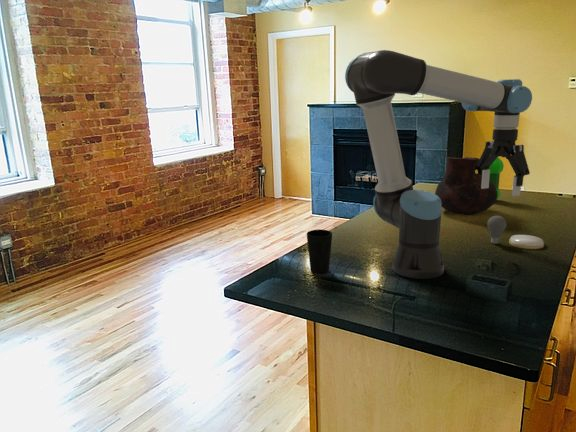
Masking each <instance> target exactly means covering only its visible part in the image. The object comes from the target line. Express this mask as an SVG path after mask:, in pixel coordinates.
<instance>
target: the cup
mask: <svg viewBox="0 0 576 432" xmlns="http://www.w3.org/2000/svg"><path fill="white" fill-rule="evenodd" d="M306 240H307V250H308V259H309V267H310V268H309V269H310V273H313V274H316V275H325V274H327V273H329V271H330V262H331V251H332V243H333V242H332V240H333V232H332V231H331V230H327V229H311V230H308V231H307V232H306Z"/></svg>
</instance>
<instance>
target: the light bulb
mask: <svg viewBox="0 0 576 432" xmlns="http://www.w3.org/2000/svg"><path fill="white" fill-rule="evenodd" d="M486 226H487V229H488V230H489V232H490V233H489V234H490V237H491V239H490V242H491V243H492V244H493V245H497V244H499V243H500V238H501V236H502V234H503V232H504V230H506V227H507V222H506V219H505V218H504V217H503V216H501V215H493V216H491V217H490V218H489V219H488V220H487V225H486Z"/></svg>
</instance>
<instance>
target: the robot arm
mask: <svg viewBox="0 0 576 432" xmlns="http://www.w3.org/2000/svg"><path fill="white" fill-rule="evenodd" d="M344 75H345V76H344V78H345V79H344V80H345V83H346V87H348V89H349V90H350V92H352V93H353V95H354V100H355V105H356V106H358V107H360V108H361V109H362V113H363V117H364V122H365V125H366V129H367V136H368V139H369V145H370V149H371V155H372V158H373V163H374V167H375V168H374V169H375V173H376V177H377V181H378V182H377V184H376V185H375V187H374V191H375V196H373V200H372V201H373V204H372V205H373V209H374V211H375V213H376V215H377V216H378V217H379V218H380V219H381V220H382V221H384V222H386V223H388V224H389V225H391V226H393V227H395V228H397V229H398V230H399V231H398V244H397V245H398V246H397V248H396V251H395V252H394V253H395V254H394V256H393V258H392V261H391V270H392V271H393V272H394V273H396V274H397V275H399V276H401V277H405V278H408V279H409V278H410V279H418V280H419V279H420V280H429V279H435V278H436V279H437V277H441V276H442V275H444V272H445V263H444V260H443V256H442V253H441V249H440V248H441V247H440V237H441V235H440V234H441V221H442V220H441V219H442V212H443V208H442V206H441V199H440V198H439V197H438V196H437V195H436V194H435V192H434V193H433V192H431V191H425V190H421V189H414V186H413V181H412V179H410V178H408V177H407V176H406V170H405V166H404V161H403V155H402V151H401V146H400V141H399V136H398V130H397V125H396V119H395V115H394V111H393V110H394V109H393V106H392V105H393V104H392V100H394V97H395V96H396V94H402V95H408V96H416V95H417V94H420V95H421V94H422V95H426V96H431V97H436V98H440V99H444V100H449V101H454V102H459V103H461V106H462V108H463V109H464V110H465V111H466V112H475V113H476V112H493V113H494V114H493V129H492V137H491V138H492V140H491V141H488V140H487V141H485V145H484V149H483V151H482V153H481V155H480V158H479V162H478V164H477V167H480V168H481V178H482V183H481V188H482V189H485V188H489V178H490V170H489V169H490V168H489V167H490V166H491V164H492V163H493V162H494V161H495V160H496V158H497V157H498V158H499V157H501V158H506V159H507V160H508V162H509V164H510V166H511V168H512V169H513V170H512V171H513V172H514V174H515V175H513V179H512V180H513V181H512V189H511V190H512V191H511V196H512V197H519V196H521V190H522V189H521V188H522V186H523V184H524V177H525V176H528V175H530V173H531V171H530V169H529V165H528V162H527V161H528V160H527V159H526V155H525V145H524V144H516V141H518V136H519V135H518V134H519V129H518V128H519V125H520V124H519V123H520V113H523V112H525V111H527V110H528V109H529V107H530V106H531V104H532V101H533V94H532V91H531V90H530V88H528V87H527V86H525V85H523V81H522V80H521V79H520V78H513V79H512V78H511V79H498V80H497V81H495V80H490V79H487V78H482V77H478V76H473V75H469V74H467V73H466V74H465V73H462V72H457V71H453V70H450V69H445V68H442V67H438V66H433V65H430V64H429V65H428V64H427V63H426V61H425V60H424V59H421V58H417V57H415V56H414V57H413V56H411V55H408V54H404V53H401V52H397V51H393V50H388V49H382V50H377V51H371V52H363V53H362V54H359V55H357V56H355V57H354V58H353V59H352V60H351V61H350V62H349V63H348V65H347V67H346V69H345V74H344ZM493 148H494V150H493ZM492 150H493V151H492ZM490 154H491V155H490ZM506 159H505V160H506ZM487 169H488V170H487Z"/></svg>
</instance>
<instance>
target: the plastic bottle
mask: <svg viewBox="0 0 576 432" xmlns="http://www.w3.org/2000/svg"><path fill="white" fill-rule="evenodd" d="M493 150H494V148H493ZM493 150H492V151H493ZM490 155H491V154H490ZM504 167H505V166H504V162H503V161H502V160H501V158H499V156H498V157H497V158H496V160H495V161H494V162H493V163H492V164H491V166H490V167H489V168H490V169H489V170H490V178H489V180H490V181H492V182H493V184H494V185H495V187H496V189H497V193H498V196H497V199H499V198H500V196H501V190H500V188H499V187H500V176H501V173H502V172H503V171H504ZM487 170H488V169H487Z"/></svg>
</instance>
